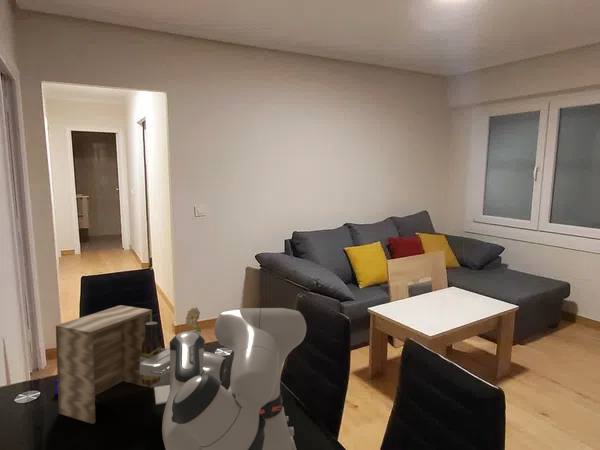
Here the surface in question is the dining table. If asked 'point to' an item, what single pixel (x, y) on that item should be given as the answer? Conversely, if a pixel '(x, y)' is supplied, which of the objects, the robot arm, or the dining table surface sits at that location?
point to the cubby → (98, 357)
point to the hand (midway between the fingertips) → (149, 355)
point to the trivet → (161, 394)
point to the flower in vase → (193, 319)
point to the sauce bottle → (150, 349)
